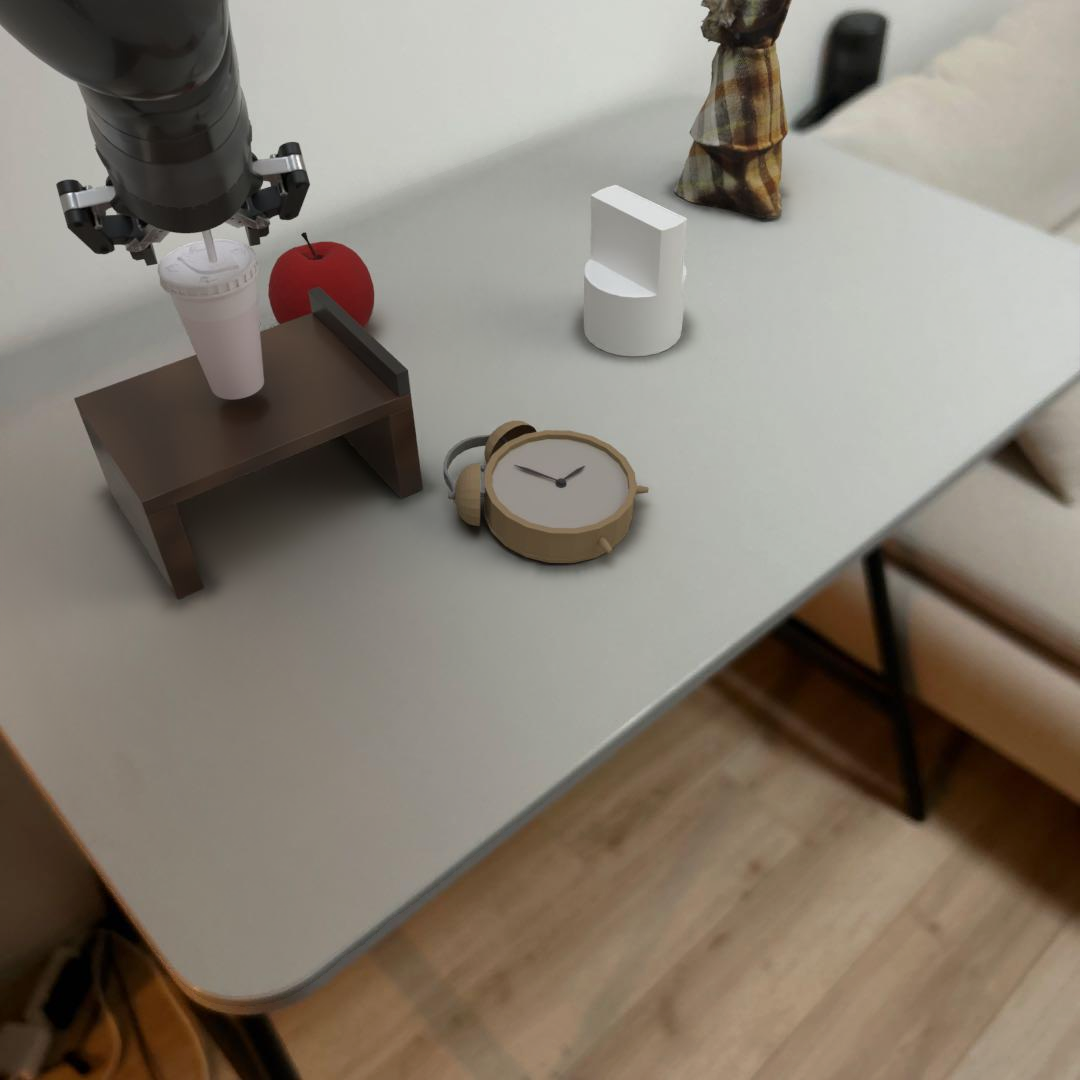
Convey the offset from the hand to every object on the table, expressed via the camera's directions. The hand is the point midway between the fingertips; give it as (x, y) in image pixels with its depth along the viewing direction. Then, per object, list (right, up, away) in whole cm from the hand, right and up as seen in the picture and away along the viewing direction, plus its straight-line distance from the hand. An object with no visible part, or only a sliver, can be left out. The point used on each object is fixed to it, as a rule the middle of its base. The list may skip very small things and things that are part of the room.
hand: (200, 240), depth 71 cm
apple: (+3, -1, +29) cm, 29 cm away
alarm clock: (+22, -17, +11) cm, 30 cm away
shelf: (+1, -16, +13) cm, 21 cm away
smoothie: (+1, -9, +6) cm, 11 cm away
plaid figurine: (+43, +18, +48) cm, 67 cm away
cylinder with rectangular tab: (+31, 0, +29) cm, 42 cm away
